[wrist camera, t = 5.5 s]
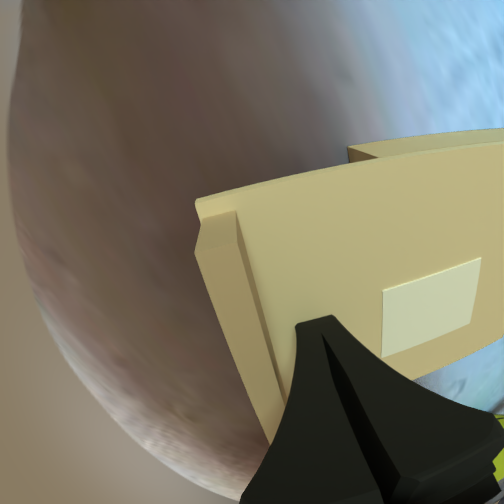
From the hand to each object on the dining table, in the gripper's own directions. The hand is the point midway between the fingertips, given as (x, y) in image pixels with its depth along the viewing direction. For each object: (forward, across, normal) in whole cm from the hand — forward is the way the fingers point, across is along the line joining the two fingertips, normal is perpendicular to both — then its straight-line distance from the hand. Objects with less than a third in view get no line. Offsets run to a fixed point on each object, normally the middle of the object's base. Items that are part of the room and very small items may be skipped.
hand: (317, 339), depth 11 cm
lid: (+1, -4, 0) cm, 4 cm away
